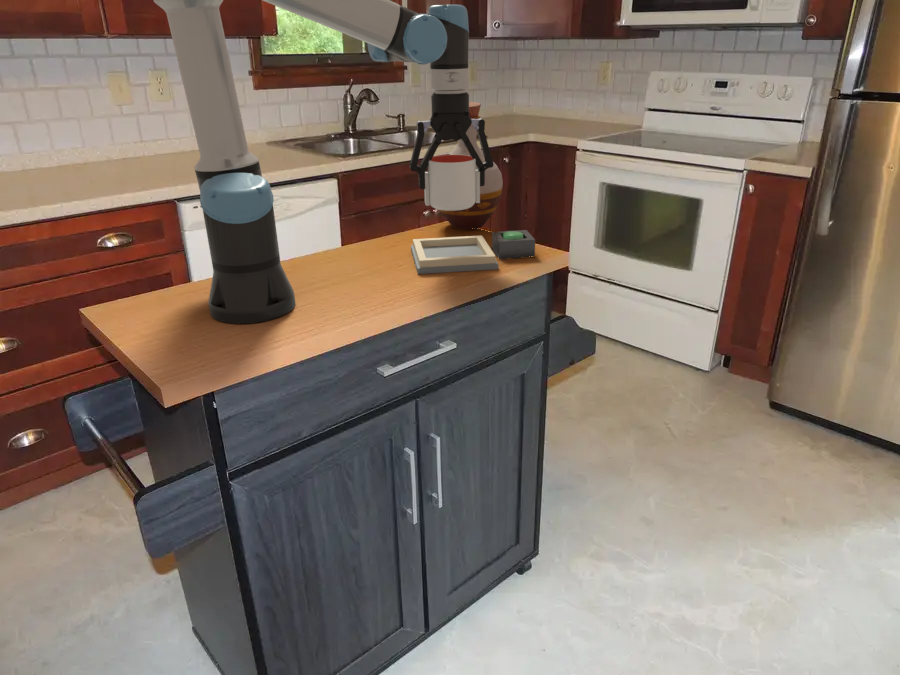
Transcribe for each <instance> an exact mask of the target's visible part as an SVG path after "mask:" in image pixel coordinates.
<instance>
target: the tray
mask: <svg viewBox="0 0 900 675" xmlns="http://www.w3.org/2000/svg"><path fill="white" fill-rule="evenodd" d="M410 251H411V255H412V258H413V261H414V265H415V269H416V273H417V275H424V274H426V275H427V274H437V273H438V274H440V273H441V274H442V273H453V272H454V273H456V272H457V273H458V272H475V271H476V272H477V271H486V270H487V271H489V270H491V271H492V270H499V262H498V261H497V259H496V257H497V256H496V254H495V253H494V251H493V250H492V247H491V246H490V245H489V243H487V241H486V239H485V238H484V236H483V235H470V236H469V235H466V236H448V237H447V236H446V237H432V238H431V237H430V238H429V237H428V238H413V239H412V244H411V245H410Z"/></svg>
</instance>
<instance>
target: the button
mask: <svg viewBox="0 0 900 675" xmlns="http://www.w3.org/2000/svg"><path fill="white" fill-rule="evenodd" d="M509 231H510V232H505V233H504V234H503V239H504V240H505V239H523V233H521V232H516V231H517V230H509Z"/></svg>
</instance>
